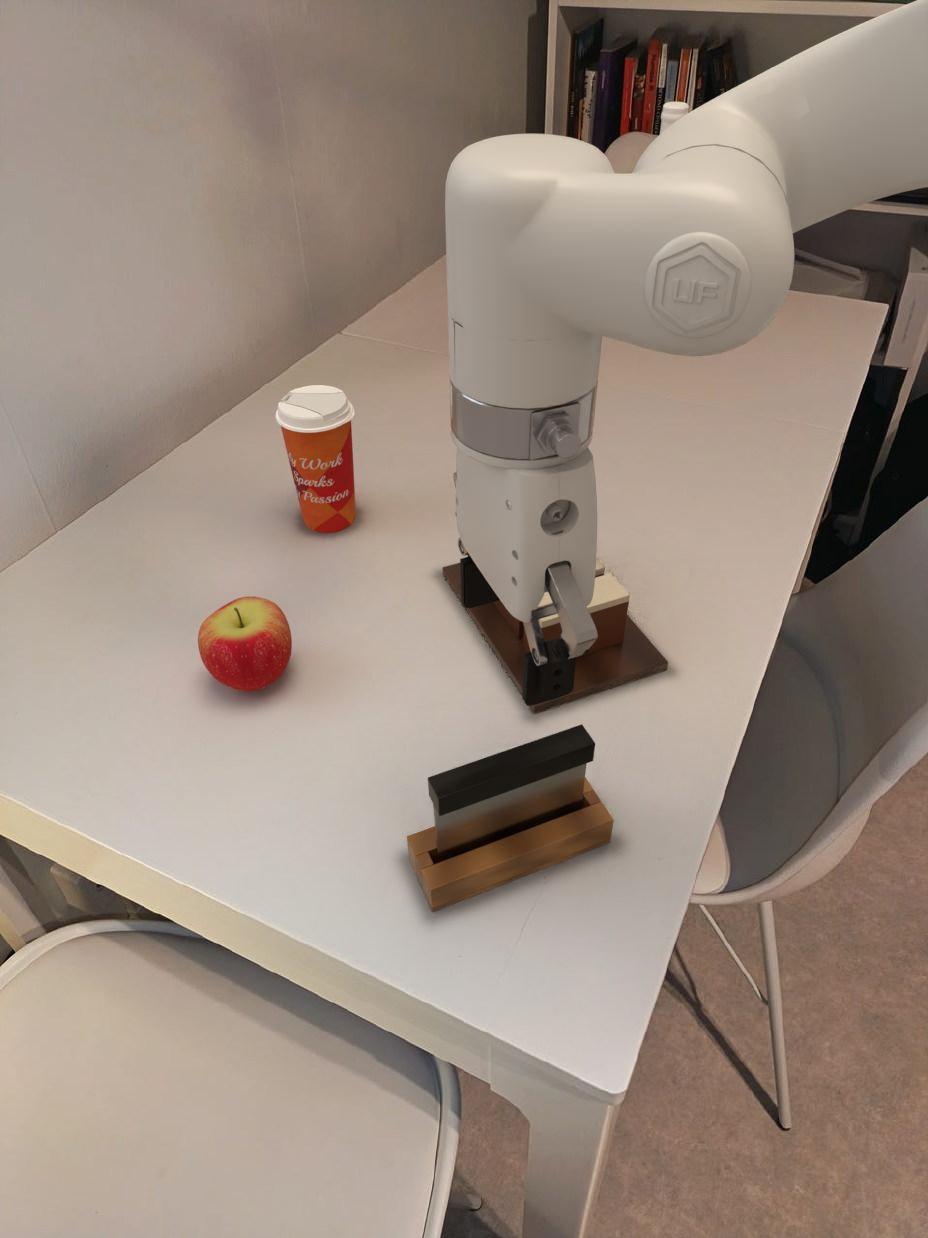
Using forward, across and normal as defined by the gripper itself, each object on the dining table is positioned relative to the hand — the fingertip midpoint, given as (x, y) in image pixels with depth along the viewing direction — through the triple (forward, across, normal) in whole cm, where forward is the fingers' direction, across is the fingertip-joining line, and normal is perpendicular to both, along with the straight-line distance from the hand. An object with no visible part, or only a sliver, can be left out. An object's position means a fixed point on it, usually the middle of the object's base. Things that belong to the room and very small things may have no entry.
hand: (513, 646), depth 57 cm
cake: (+20, +22, -14) cm, 33 cm away
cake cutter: (+19, -2, +1) cm, 19 cm away
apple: (+20, +25, +15) cm, 35 cm away
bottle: (+20, +83, -63) cm, 106 cm away
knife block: (+20, -2, +1) cm, 20 cm away
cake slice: (+19, +16, -14) cm, 28 cm away
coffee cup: (+20, +47, +1) cm, 51 cm away
